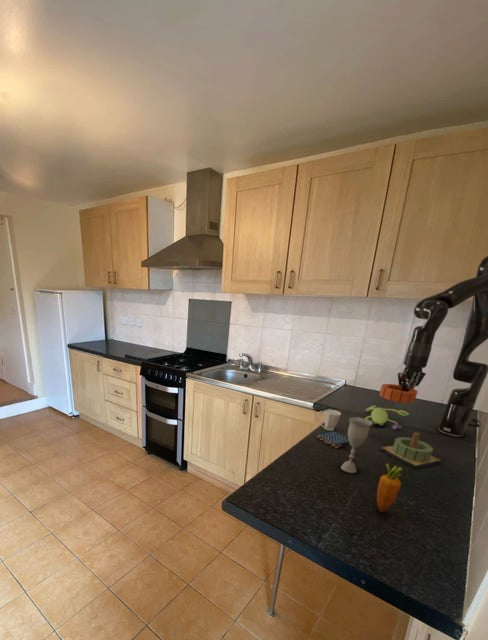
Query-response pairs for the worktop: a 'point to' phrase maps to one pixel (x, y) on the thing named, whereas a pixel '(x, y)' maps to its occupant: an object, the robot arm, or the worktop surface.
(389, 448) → the ring stand
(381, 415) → the figurine
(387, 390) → the orange ring
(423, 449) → the green ring
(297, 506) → the worktop surface
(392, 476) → the carrot
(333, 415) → the cup
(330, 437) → the woven mat
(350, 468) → the chalice
